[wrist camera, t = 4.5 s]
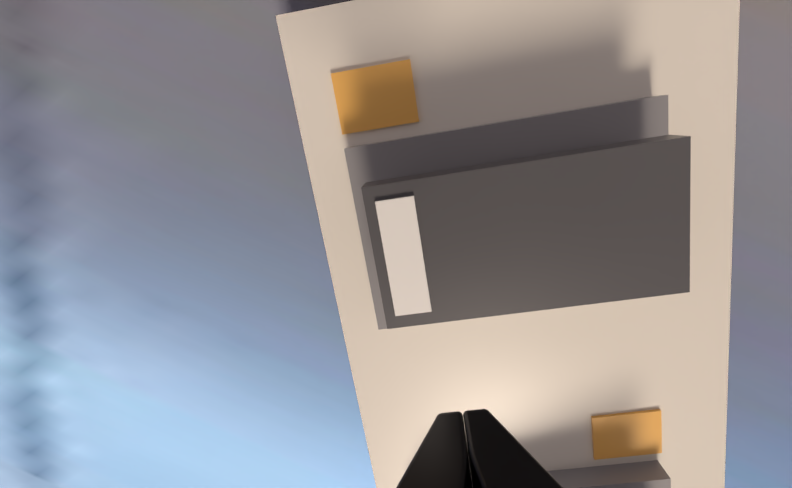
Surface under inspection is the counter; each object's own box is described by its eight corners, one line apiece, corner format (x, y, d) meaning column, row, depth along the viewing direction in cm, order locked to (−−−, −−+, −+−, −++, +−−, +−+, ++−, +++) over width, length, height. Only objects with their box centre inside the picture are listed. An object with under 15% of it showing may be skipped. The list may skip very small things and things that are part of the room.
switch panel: (697, -50, 14) (767, -91, 11) (692, 567, 20) (735, 638, 18) (293, 28, 15) (265, 8, 12) (408, 589, 22) (407, 659, 19)
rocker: (668, 134, 12) (692, 136, 11) (669, 279, 13) (691, 293, 12) (366, 181, 12) (360, 187, 11) (390, 314, 14) (387, 330, 12)
